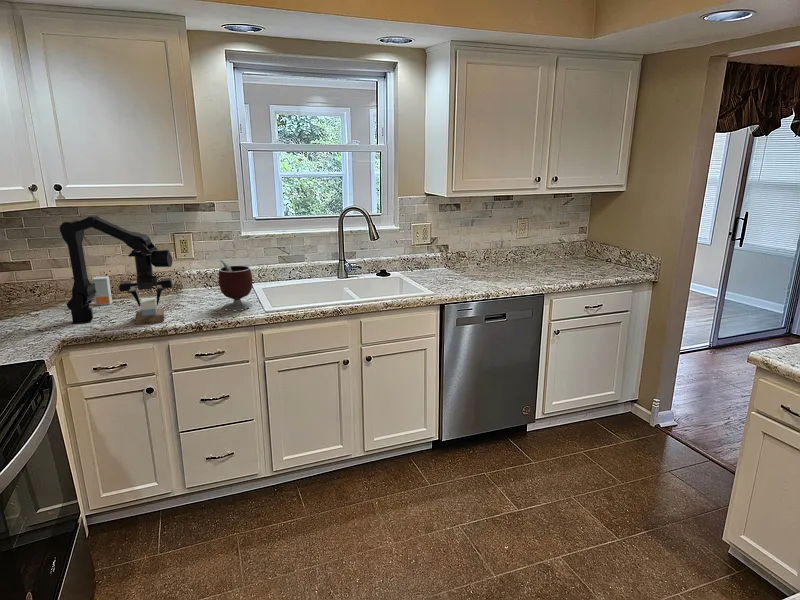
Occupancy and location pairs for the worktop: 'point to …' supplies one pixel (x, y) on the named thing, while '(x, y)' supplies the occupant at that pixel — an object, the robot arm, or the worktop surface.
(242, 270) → the mate gourd
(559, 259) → the worktop surface
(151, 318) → the walnut stand
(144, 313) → the base plate
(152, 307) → the lid plate
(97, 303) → the skincare box
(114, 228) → the robot arm
